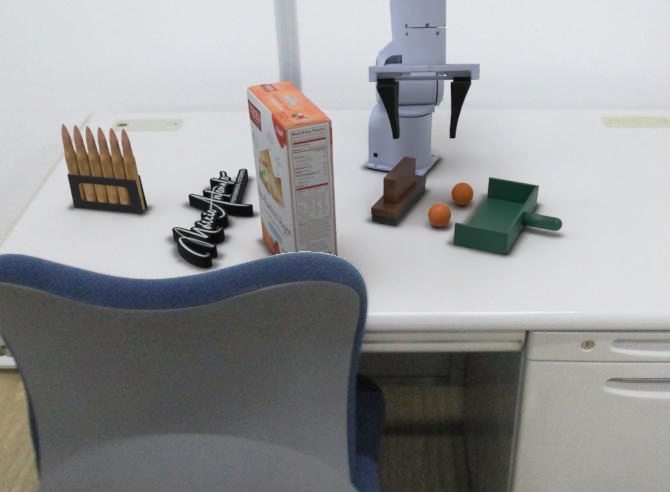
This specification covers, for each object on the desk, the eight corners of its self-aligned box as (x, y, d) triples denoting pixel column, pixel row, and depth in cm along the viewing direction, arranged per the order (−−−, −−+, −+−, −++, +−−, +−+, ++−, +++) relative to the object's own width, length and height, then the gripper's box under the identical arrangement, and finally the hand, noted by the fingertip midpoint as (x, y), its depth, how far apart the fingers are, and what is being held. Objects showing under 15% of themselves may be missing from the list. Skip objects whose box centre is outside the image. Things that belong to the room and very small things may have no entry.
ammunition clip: (148, 208, 120) (132, 127, 113) (142, 214, 119) (126, 132, 111) (79, 201, 122) (59, 121, 114) (73, 207, 121) (53, 126, 113)
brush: (370, 222, 117) (370, 183, 114) (403, 186, 126) (404, 149, 123) (394, 226, 116) (395, 187, 113) (425, 190, 125) (427, 153, 122)
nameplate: (238, 257, 106) (159, 257, 106) (239, 268, 107) (161, 268, 107) (262, 168, 128) (197, 168, 128) (263, 178, 128) (198, 177, 129)
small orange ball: (424, 228, 116) (425, 207, 114) (432, 218, 118) (433, 197, 116) (446, 232, 115) (447, 211, 113) (453, 222, 117) (455, 201, 115)
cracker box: (260, 241, 113) (243, 85, 100) (301, 233, 115) (291, 78, 101) (295, 291, 103) (282, 125, 90) (340, 281, 105) (334, 116, 92)
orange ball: (447, 206, 121) (448, 186, 119) (454, 197, 123) (456, 177, 121) (468, 210, 120) (470, 190, 118) (475, 201, 122) (477, 181, 120)
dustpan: (453, 244, 112) (454, 223, 110) (487, 196, 124) (489, 176, 122) (546, 262, 109) (549, 241, 107) (573, 211, 120) (576, 191, 118)
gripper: (363, 29, 105) (366, 141, 110) (479, 26, 103) (476, 140, 108) (372, 29, 111) (375, 136, 117) (481, 26, 109) (479, 134, 115)
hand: (424, 138), depth 113 cm, fingers open, 7 cm apart
